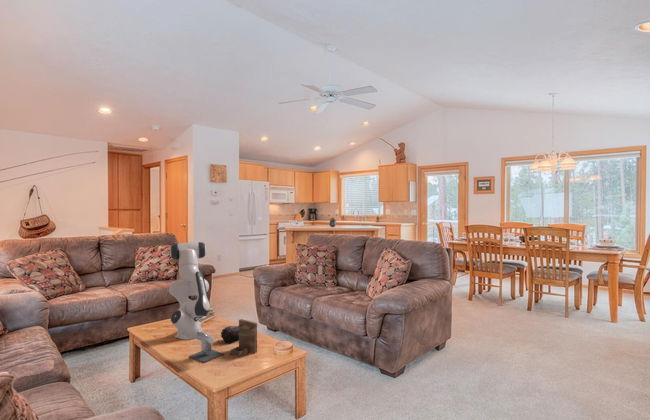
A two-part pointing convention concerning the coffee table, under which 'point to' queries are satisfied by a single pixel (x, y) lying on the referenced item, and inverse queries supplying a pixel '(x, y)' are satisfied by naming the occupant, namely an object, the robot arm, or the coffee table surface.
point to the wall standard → (246, 338)
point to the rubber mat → (206, 356)
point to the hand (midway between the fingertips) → (207, 342)
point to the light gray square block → (205, 347)
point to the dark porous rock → (230, 334)
